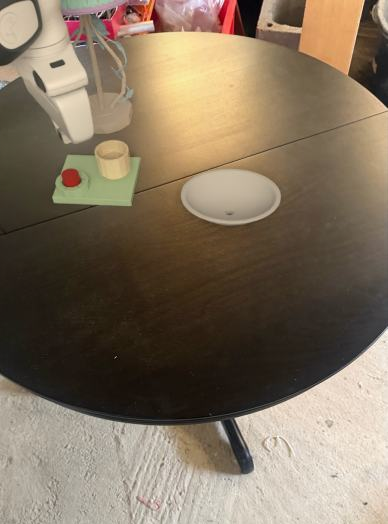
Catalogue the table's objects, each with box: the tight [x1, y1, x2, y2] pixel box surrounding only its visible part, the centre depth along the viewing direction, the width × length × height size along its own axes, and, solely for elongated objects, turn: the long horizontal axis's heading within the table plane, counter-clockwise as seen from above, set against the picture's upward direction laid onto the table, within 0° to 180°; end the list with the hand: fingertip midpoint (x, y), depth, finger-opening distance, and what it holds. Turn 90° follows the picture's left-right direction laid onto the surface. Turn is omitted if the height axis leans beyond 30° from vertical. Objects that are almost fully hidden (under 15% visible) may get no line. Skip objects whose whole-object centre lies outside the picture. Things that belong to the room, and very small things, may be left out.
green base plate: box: [51, 154, 142, 207], centre depth 92 cm, size 15×13×3 cm
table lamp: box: [60, 0, 135, 135], centre depth 89 cm, size 22×22×40 cm
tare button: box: [60, 168, 81, 187], centre depth 89 cm, size 3×3×2 cm
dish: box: [180, 168, 282, 227], centre depth 85 cm, size 18×14×5 cm
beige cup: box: [93, 139, 131, 180], centre depth 91 cm, size 6×6×4 cm
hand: (65, 139), depth 83 cm, fingers closed
